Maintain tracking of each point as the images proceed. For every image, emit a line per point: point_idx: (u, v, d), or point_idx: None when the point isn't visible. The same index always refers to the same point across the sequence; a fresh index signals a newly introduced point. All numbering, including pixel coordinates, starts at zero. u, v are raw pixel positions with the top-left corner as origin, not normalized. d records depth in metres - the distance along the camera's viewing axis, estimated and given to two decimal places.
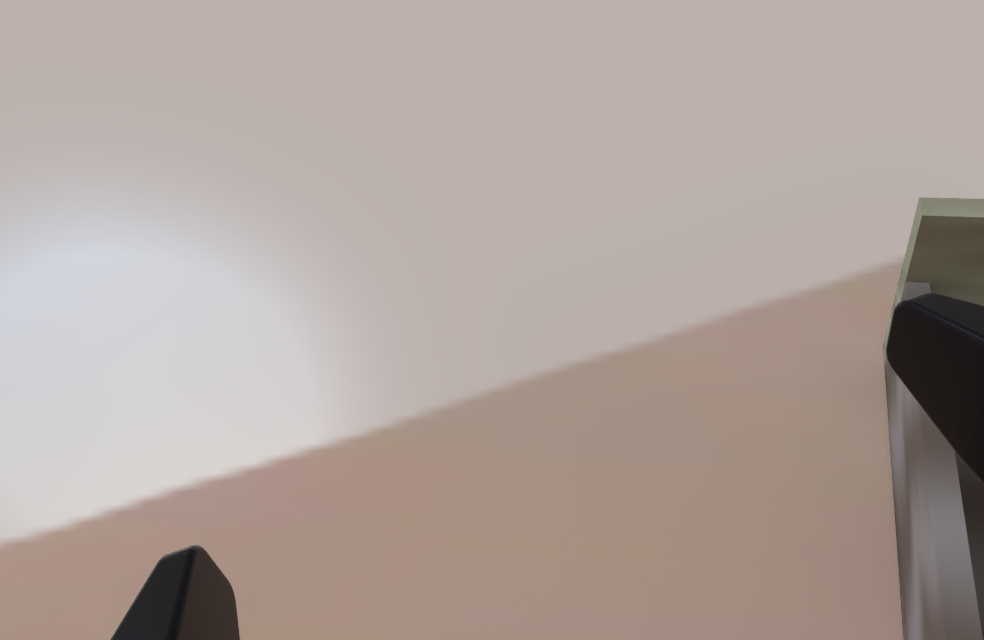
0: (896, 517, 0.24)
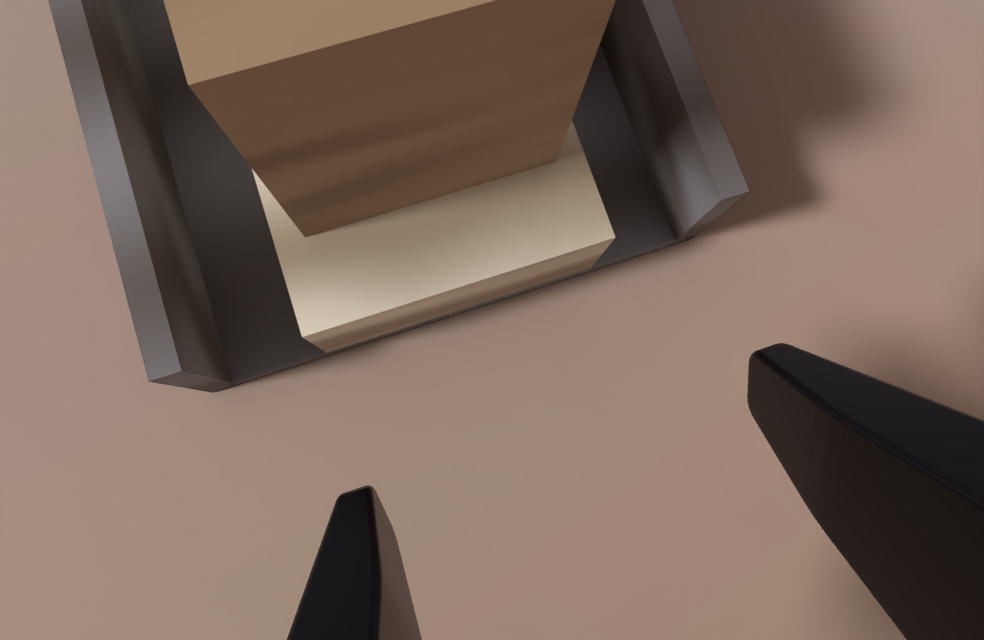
0: None
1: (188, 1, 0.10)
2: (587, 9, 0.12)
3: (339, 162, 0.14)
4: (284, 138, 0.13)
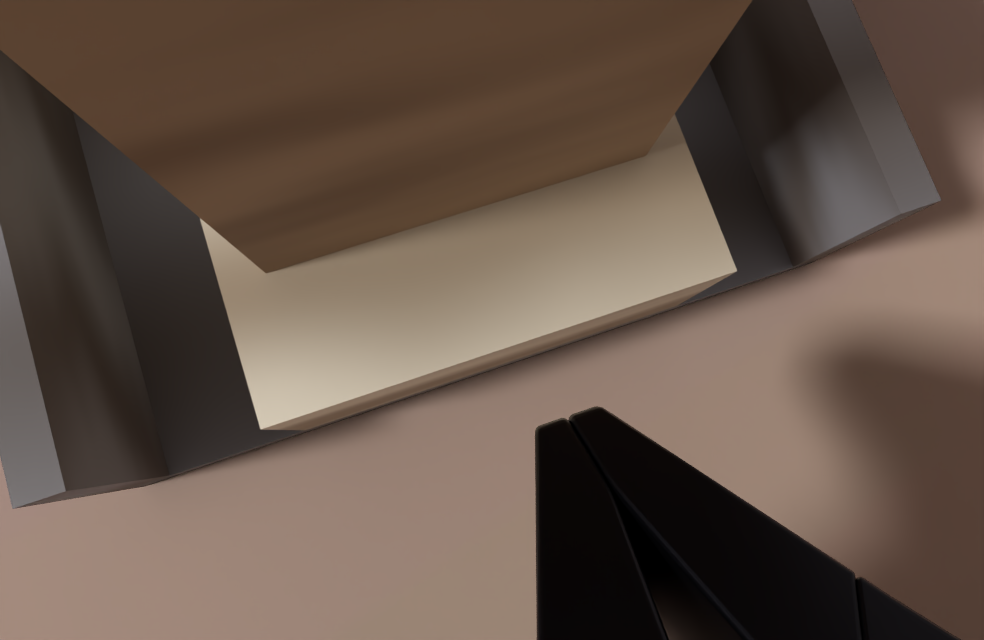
0: None
1: None
2: None
3: (309, 157, 0.08)
4: (193, 108, 0.06)
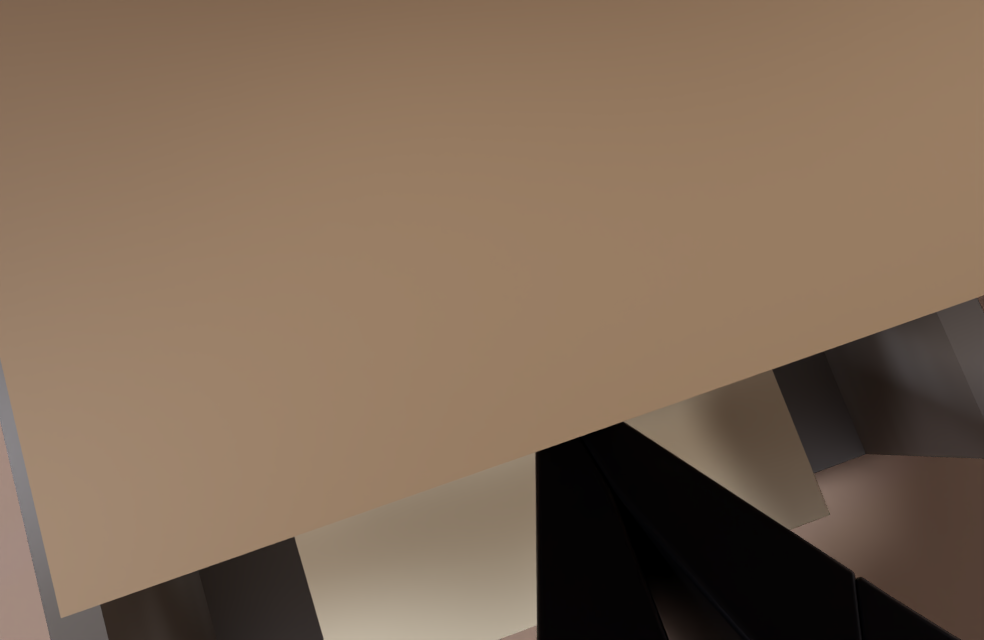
0: None
1: (69, 357, 0.04)
2: None
3: None
4: None
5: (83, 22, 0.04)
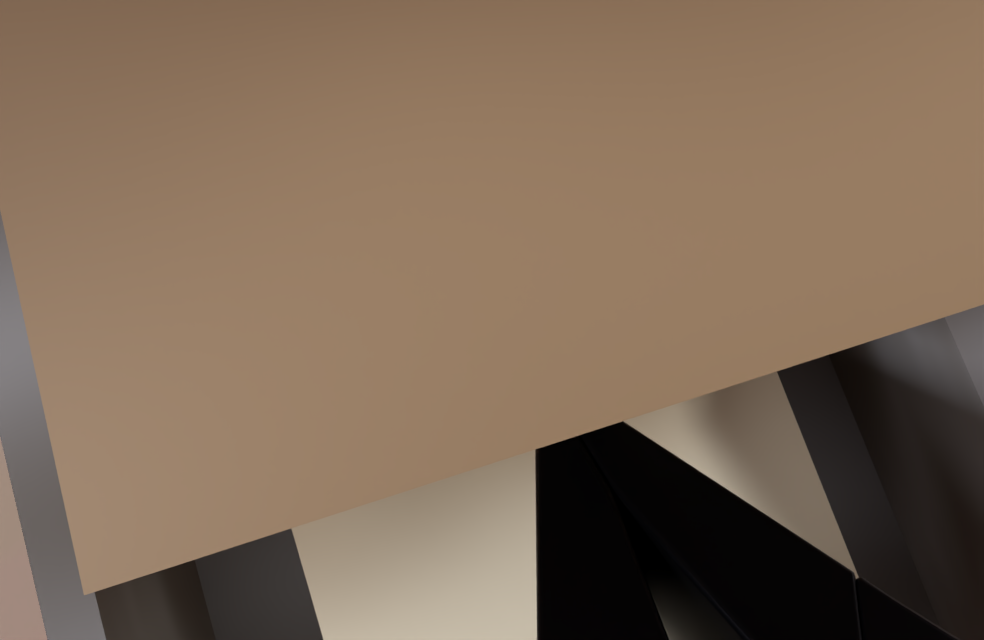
0: None
1: (96, 330, 0.04)
2: None
3: None
4: None
5: None
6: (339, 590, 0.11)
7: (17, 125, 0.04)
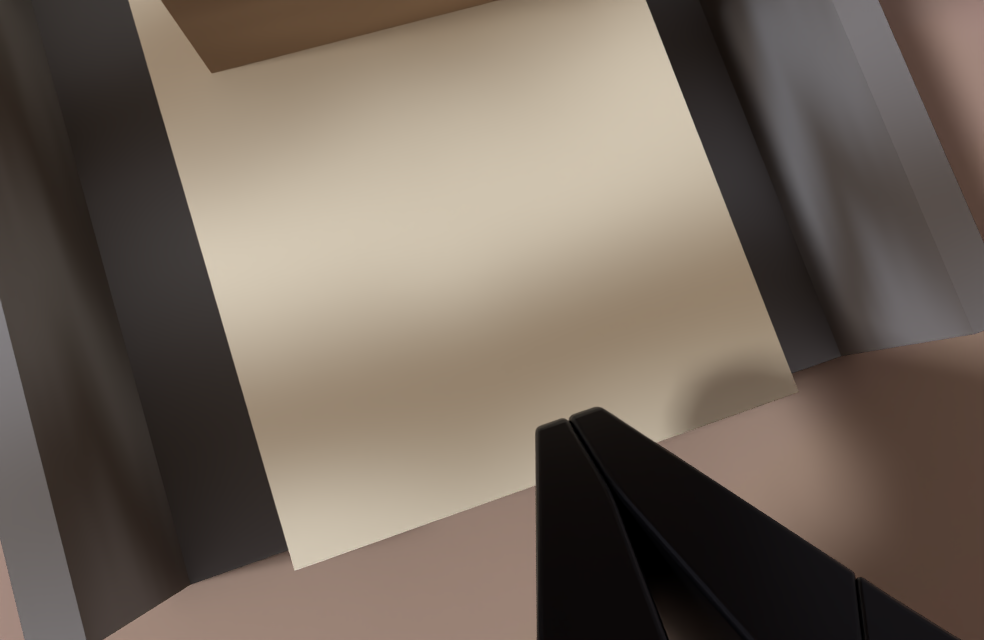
0: None
1: None
2: None
3: None
4: None
5: None
6: (207, 170, 0.11)
7: None
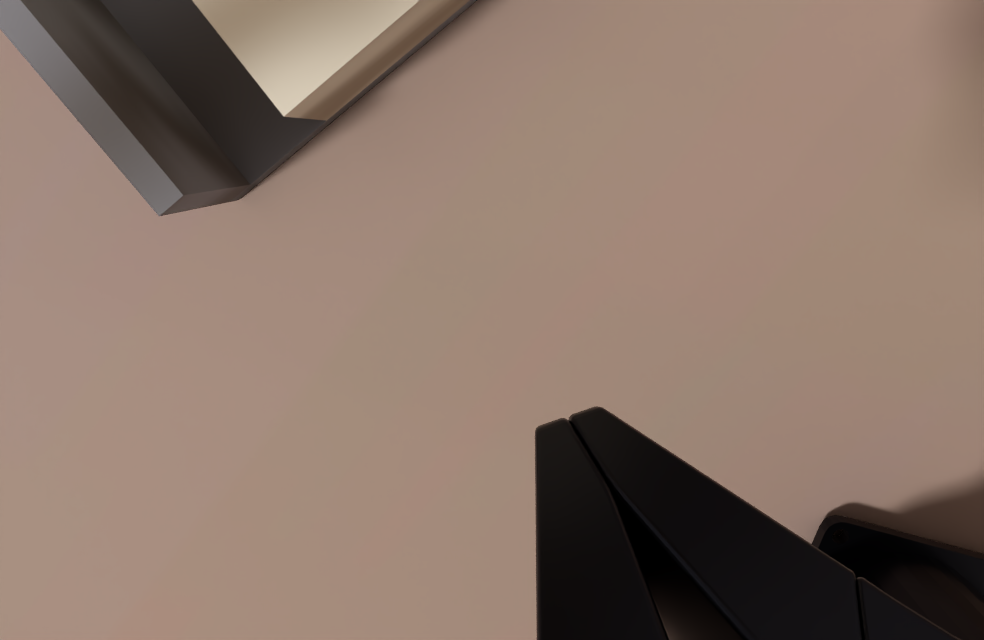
0: None
1: None
2: None
3: None
4: None
5: None
6: None
7: None
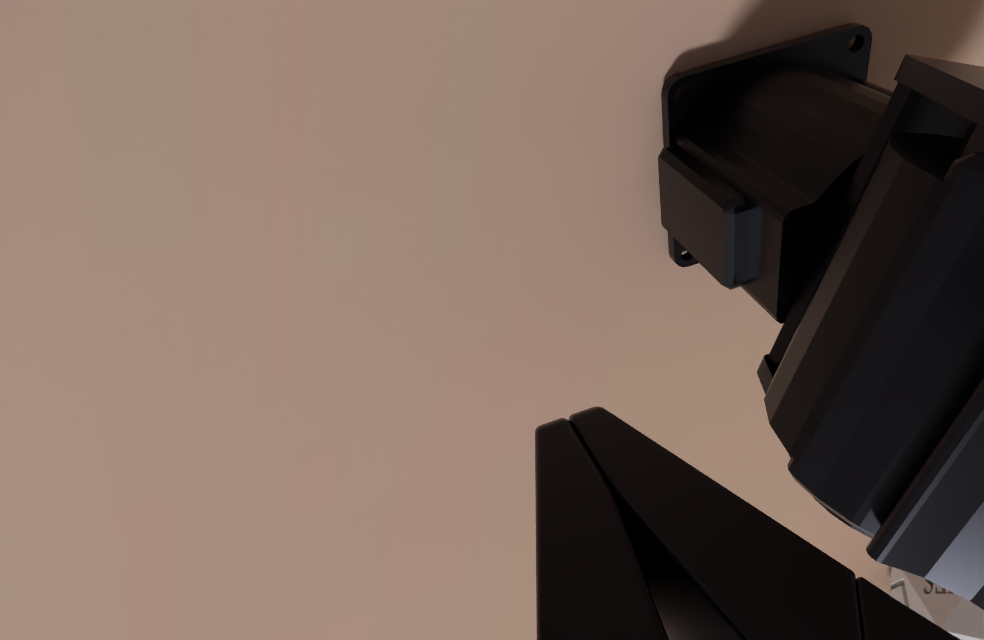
0: None
1: None
2: None
3: None
4: None
5: None
6: None
7: None
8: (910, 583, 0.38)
